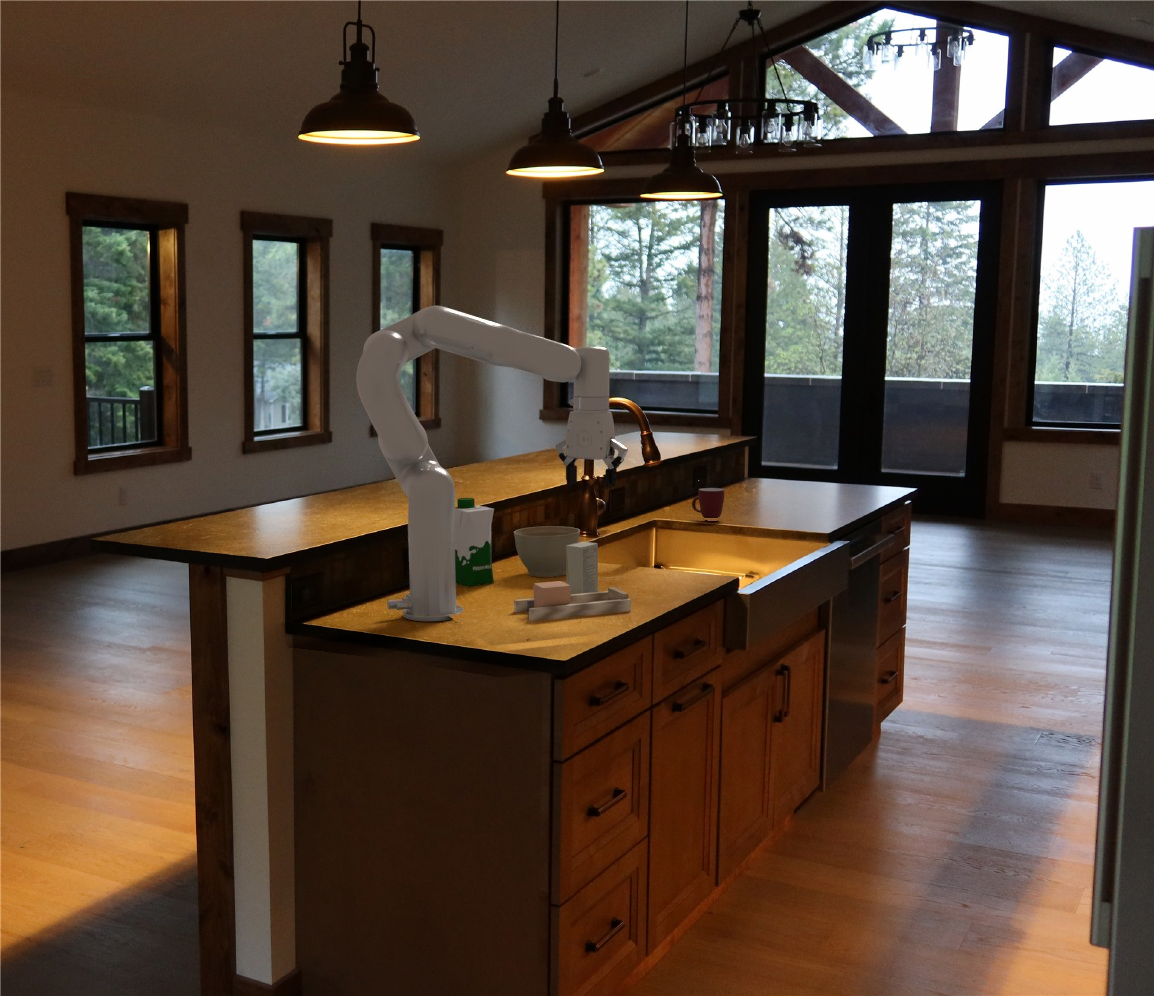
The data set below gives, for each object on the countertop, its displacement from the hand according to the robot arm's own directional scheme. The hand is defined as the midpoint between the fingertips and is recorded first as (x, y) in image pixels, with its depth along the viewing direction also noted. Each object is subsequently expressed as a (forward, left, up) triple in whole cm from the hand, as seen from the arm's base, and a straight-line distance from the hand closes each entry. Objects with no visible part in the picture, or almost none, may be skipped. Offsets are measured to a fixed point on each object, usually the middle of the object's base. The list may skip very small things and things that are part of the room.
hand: (590, 485), depth 258 cm
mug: (+82, +98, -26) cm, 130 cm away
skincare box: (+1, +8, -26) cm, 27 cm away
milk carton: (-16, +34, -26) cm, 46 cm away
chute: (-8, -8, -26) cm, 28 cm away
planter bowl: (+4, +37, -26) cm, 45 cm away
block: (-12, -8, -25) cm, 29 cm away
